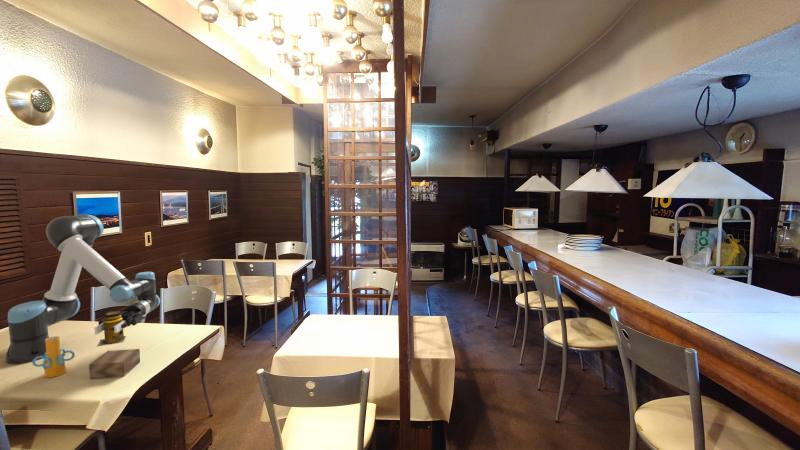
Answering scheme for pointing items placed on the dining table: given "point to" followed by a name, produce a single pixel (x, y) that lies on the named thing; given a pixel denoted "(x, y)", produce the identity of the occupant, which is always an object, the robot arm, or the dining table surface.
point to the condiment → (112, 329)
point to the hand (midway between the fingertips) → (105, 330)
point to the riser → (114, 363)
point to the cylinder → (53, 358)
